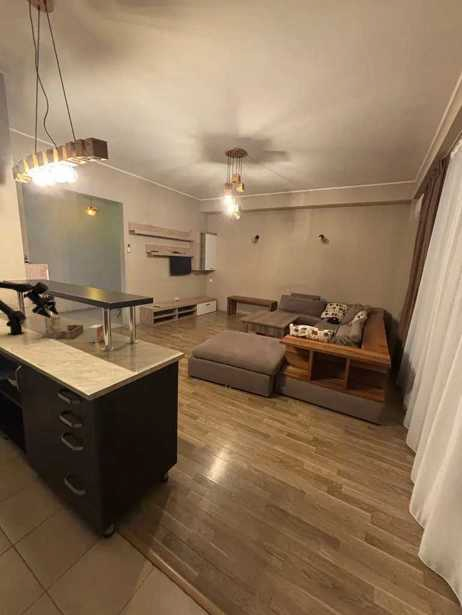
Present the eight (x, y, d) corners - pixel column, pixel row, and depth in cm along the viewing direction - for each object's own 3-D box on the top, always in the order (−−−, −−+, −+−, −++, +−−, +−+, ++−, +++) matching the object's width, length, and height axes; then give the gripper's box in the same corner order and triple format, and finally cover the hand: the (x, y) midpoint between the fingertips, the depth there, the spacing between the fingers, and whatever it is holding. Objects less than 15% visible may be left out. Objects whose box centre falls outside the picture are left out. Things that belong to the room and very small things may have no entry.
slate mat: (41, 336, 167) (41, 336, 166) (51, 331, 178) (51, 331, 178) (59, 337, 168) (59, 336, 168) (68, 332, 180) (68, 331, 180)
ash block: (49, 335, 170) (48, 316, 168) (53, 332, 175) (52, 315, 173) (57, 335, 171) (56, 317, 169) (61, 333, 176) (60, 315, 173)
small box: (97, 343, 163) (96, 327, 161) (88, 342, 163) (88, 327, 161) (103, 339, 171) (103, 324, 169) (95, 338, 171) (95, 324, 169)
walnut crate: (55, 338, 166) (55, 331, 165) (68, 331, 182) (68, 324, 181) (72, 338, 167) (71, 331, 166) (83, 331, 184) (83, 324, 183)
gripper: (36, 293, 158) (55, 311, 162) (53, 289, 176) (69, 306, 180) (23, 304, 158) (42, 322, 162) (41, 299, 176) (58, 315, 180)
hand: (54, 315), depth 171 cm, fingers open, 9 cm apart
